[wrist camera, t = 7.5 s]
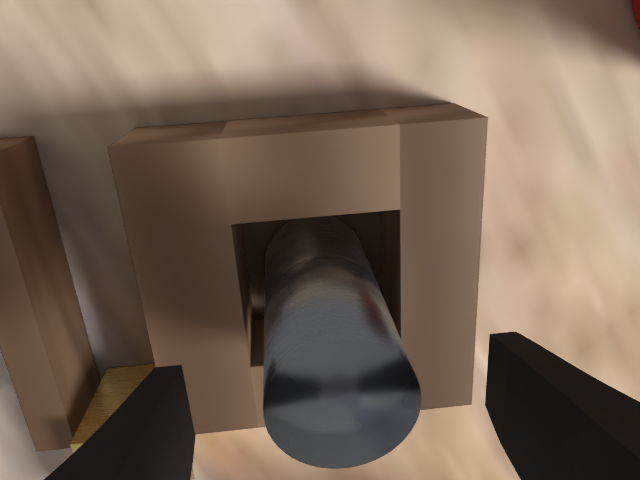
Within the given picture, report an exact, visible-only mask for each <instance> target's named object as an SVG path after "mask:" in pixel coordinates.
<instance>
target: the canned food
mask: <svg viewBox="0 0 640 480" xmlns="http://www.w3.org/2000/svg"><path fill="white" fill-rule="evenodd" d="M632 5H633V10H634V13H635V16H636V19H637V23H638V26H639V29H640V0H632Z"/></svg>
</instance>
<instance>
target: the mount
mask: <svg viewBox="0 0 640 480" xmlns="http://www.w3.org/2000/svg"><path fill="white" fill-rule="evenodd" d="M487 122H488V117H486V116H483V115H481V114H478V113H476V112H474V111H471V110H469V109H466V108H464V107H462V106H459V105H457V104H454V103H451V104H438V105H425V106H412V107H399V108H386V109H374V110H361V111H348V112H335V113H322V114H309V115H297V116H284V117H271V118H258V119H245V120H232V121H220V122H207V123H194V124H181V125H168V126H155V127H143V128H134V129H133V130H131V131H130V132H129V133H127V134H126V135H124V136H123V137H122V138H120V139H119V140H117V141H116V142H115V143H113V144H112V145H111V146H109V147H108V153H109V157H110V162H111V166H112V171H113V175H114V180H115V184H116V189H117V193H118V198H119V203H120V207H121V212H122V216H123V221H124V225H125V230H126V234H127V239H128V244H129V248H130V253H131V257H132V262H133V266H134V271H135V275H136V280H137V285H138V289H139V294H140V298H141V303H142V307H143V312H144V316H145V321H146V326H147V330H148V335H149V339H150V344H151V348H152V353H153V357H154V362H155V367H164V366H174V365H182V369H183V374H184V380H185V385H186V390H187V395H188V400H189V405H190V410H191V416H192V421H193V426H194V431H195V434H203V433H212V432H221V431H230V430H240V429H249V428H258V427H266V426H265V422H264V417H263V376H264V319H259V320H254V319H253V311H252V303H251V296H250V288H249V280H248V272H247V265H246V257H245V249H244V241H243V234H242V226H241V223H252V222H264V221H275V220H287V219H298V218H309V217H321V216H332V215H343V214H355V213H366V212H377V211H382V248H383V297H384V300H385V303H386V305H387V307H388V310H389V312H390V315H391V317H392V319H393V322H394V324H395V326H396V329H397V331H398V334H399V336H400V338H401V341H402V343H403V346H404V348H405V350H406V353H407V355H408V357H409V360H410V362H411V365H412V367H413V369H414V372H415V374H416V377H417V379H418V381H419V385H420V389H421V408H420V410H425V409H434V408H443V407H453V406H462V405H471V404H472V387H473V370H474V352H475V334H476V317H477V299H478V281H479V264H480V246H481V228H482V211H483V193H484V175H485V158H486V140H487ZM0 348H1V351H2V354H3V357H4V359H5V362H6V365H7V368H8V371H9V374H10V377H11V380H12V382H13V385H14V388H15V391H16V394H17V397H18V400H19V403H20V405H21V408H22V411H23V414H24V417H25V420H26V423H27V425H28V428H29V431H30V434H31V437H32V440H33V443H34V446H35V448H36V451H45V450H54V449H64V448H71V446H70V444H71V442H72V439H73V437H74V435H75V433H76V431H77V429H78V427H79V425H80V423H81V421H82V419H83V417H84V415H85V413H86V411H87V409H88V407H89V405H90V403H91V401H92V399H93V397H94V395H95V392H96V390H97V388H98V386H99V384H100V380H99V376H98V372H97V369H96V365H95V361H94V358H93V354H92V350H91V347H90V343H89V339H88V336H87V332H86V328H85V325H84V321H83V317H82V313H81V310H80V306H79V302H78V299H77V295H76V291H75V288H74V284H73V280H72V277H71V273H70V269H69V266H68V262H67V258H66V255H65V251H64V247H63V243H62V240H61V236H60V232H59V229H58V225H57V221H56V218H55V214H54V210H53V207H52V203H51V199H50V196H49V192H48V188H47V184H46V181H45V177H44V173H43V170H42V166H41V162H40V159H39V155H38V151H37V148H36V144H35V140H34V137H33V136H27V137H14V138H1V139H0Z"/></svg>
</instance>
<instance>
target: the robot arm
mask: <svg viewBox="0 0 640 480" xmlns="http://www.w3.org/2000/svg"><path fill="white" fill-rule="evenodd" d="M485 406H486V408H487V411H488V413H489V416H490V418H491V421H492V424H493V426H494V428H495V431H496V433H497V436H498V438H499V440H500V443H501V445H502V447H503V448H504V450H505V452H506V454H507V456H508V457H509V459H510V461H511V463H512V465H513V466H514V468H515V470H516V472H517V474H518V475H519V477H520V479H521V480H640V402H639V401H637V400H635V399H633V398H631V397H629V396H627V395H625V394H623V393H621V392H619V391H618V390H616V389H614V388H612V387H610V386H608V385H606V384H605V383H603V382H601V381H599V380H597V379H596V378H594V377H592V376H590V375H589V374H587V373H585V372H583V371H582V370H580V369H578V368H576V367H575V366H573V365H571V364H570V363H568V362H566V361H565V360H563V359H561V358H560V357H558V356H556V355H555V354H553V353H551V352H550V351H548V350H547V349H545V348H543V347H542V346H540V345H538V344H537V343H535V342H533V341H531V340H530V339H528V338H526V337H524V336H523V335H521V334H519V333H517V332H507V333H497V334H490V340H489V355H488V371H487V386H486V401H485ZM194 444H195V431H194V426H193V421H192V416H191V410H190V405H189V400H188V395H187V390H186V385H185V380H184V374H183V369H182V365H174V366H164V367H155V368H154V369H153V370H152V371H151V372H150V373H149V374H148V375H147V376H146V378H145V379H144V380H143V381H142V382H141V383H140V384H139V385H138V386H137V387H136V389H135V390H134V391H133V392H132V393H131V394H130V395H129V396H128V398H127V399H126V400H125V401H124V402H123V403H122V404H121V405H120V406H119V408H118V409H117V410H116V411H115V412H114V413H113V414H112V415H111V416H110V417H109V418H108V419H107V420H106V421H105V422H104V424H103V425H102V426H101V427H100V428H99V429H98V430H97V431H96V432H95V433H94V434H93V435H92V436H91V437H90V438H88V439H87V440H86V441H85V442H84V443H83V444H82V445H81V446H80V447H79V448H78V449H77V450H76V451H75V452H74V453H73V454H72V455H71V456H70V457H69V458H68V459H67V460H66V461H65V462H64V463H62V464H61V465H60V466H59V467H58V468H57V469H56V470H55V471H53V472H52V473H51V474H50V475H49V476H48V477H46V478H45V479H44V480H190V479H191V471H192V463H193V454H194Z"/></svg>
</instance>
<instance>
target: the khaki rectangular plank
mask: <svg viewBox="0 0 640 480" xmlns="http://www.w3.org/2000/svg"><path fill="white" fill-rule="evenodd" d="M154 368H155V364H147V365H137V366H127V367H117V368H107V370H106V372H105V374H104V376H103V378H102V380H101V382H100V384H99V386H98V388H97V390H96V392H95V395H94V397H93V399H92V401H91V403H90V405H89V407H88V409H87V411H86V413H85V415H84V417H83V419H82V421H81V423H80V425H79V427H78V429H77V431H76V433H75V435H74V437H73V439H72V442H71V444H70V446H71V450H72V453H74V452H75V451H76V450H77V449H78V448H79V447H80V446H81V445H82V444H83V443H84V442H85V441H86V440H87V439H88V438H90V437H91V436H92V435H93V434H94V433H95V432H96V431H97V430H98V429H99V428H100V427H101V426H102V425H103V424H104V422H105V421H106V420H107V419H108V418H109V417H110V416H111V415H112V414H113V413H114V412H115V411H116V410H117V409H118V408H119V406H120V405H121V404H122V403H123V402H124V401H125V400H126V399H127V398H128V396H129V395H130V394H131V393H132V392H133V391H134V390H135V389H136V387H137V386H138V385H139V384H140V383H141V382H142V381H143V380H144V379H145V378H146V376H147V375H148V374H149V373H150V372H151V371H152V370H153V369H154ZM190 480H194V475H193V471H191V479H190Z"/></svg>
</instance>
